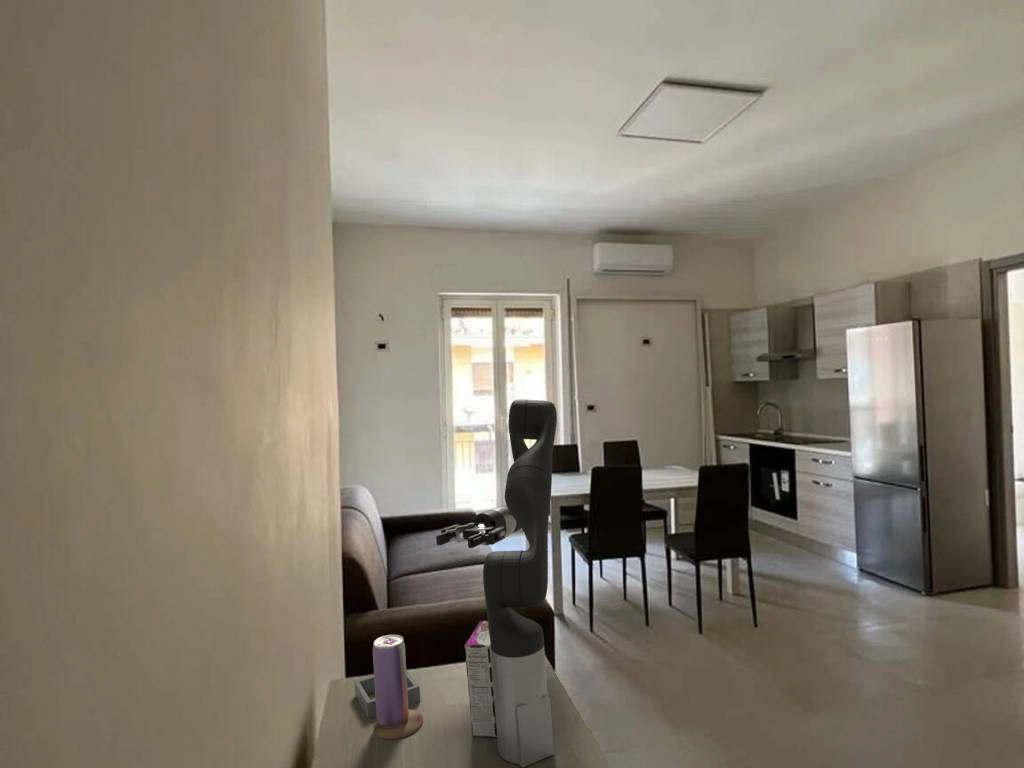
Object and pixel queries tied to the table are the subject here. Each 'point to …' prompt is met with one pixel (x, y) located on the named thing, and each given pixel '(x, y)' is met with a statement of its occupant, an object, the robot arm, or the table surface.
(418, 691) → the square frame
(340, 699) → the table surface
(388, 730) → the coaster
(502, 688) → the robot arm
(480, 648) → the candy bar box
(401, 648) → the beverage can
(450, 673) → the table surface
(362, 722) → the table surface
